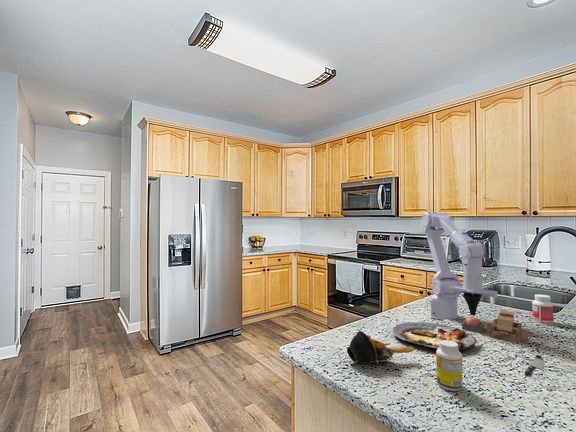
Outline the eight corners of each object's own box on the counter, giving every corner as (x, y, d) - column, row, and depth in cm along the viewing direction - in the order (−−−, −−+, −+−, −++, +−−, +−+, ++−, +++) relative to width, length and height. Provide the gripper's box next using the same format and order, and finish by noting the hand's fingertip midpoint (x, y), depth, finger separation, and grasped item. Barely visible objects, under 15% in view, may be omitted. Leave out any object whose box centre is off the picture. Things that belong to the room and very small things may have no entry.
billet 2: (497, 336, 104) (497, 318, 104) (498, 333, 107) (498, 315, 107) (511, 339, 101) (511, 320, 101) (512, 335, 104) (512, 317, 104)
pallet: (482, 338, 105) (482, 328, 105) (488, 325, 117) (488, 317, 117) (527, 347, 97) (527, 337, 97) (528, 332, 110) (528, 323, 110)
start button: (464, 327, 111) (464, 319, 111) (467, 324, 114) (467, 316, 114) (479, 330, 108) (479, 321, 108) (481, 326, 112) (481, 318, 112)
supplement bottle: (440, 377, 79) (439, 337, 79) (464, 385, 75) (464, 342, 75) (433, 386, 75) (433, 343, 75) (459, 395, 71) (459, 349, 71)
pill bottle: (556, 325, 117) (555, 296, 117) (550, 328, 114) (549, 298, 114) (536, 321, 123) (535, 293, 123) (529, 324, 119) (529, 295, 119)
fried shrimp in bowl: (338, 339, 92) (387, 314, 97) (355, 378, 89) (405, 349, 94) (348, 339, 83) (401, 311, 89) (368, 381, 80) (422, 350, 86)
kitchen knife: (550, 358, 91) (537, 354, 93) (551, 354, 91) (537, 350, 93) (538, 381, 78) (523, 376, 80) (538, 376, 78) (523, 371, 80)
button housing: (462, 331, 111) (461, 323, 111) (465, 327, 116) (465, 319, 116) (481, 335, 107) (481, 327, 107) (484, 330, 112) (484, 322, 112)
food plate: (483, 338, 104) (483, 328, 104) (465, 362, 87) (464, 350, 87) (409, 323, 121) (408, 314, 122) (381, 341, 104) (381, 331, 104)
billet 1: (499, 329, 110) (499, 312, 110) (500, 326, 113) (500, 310, 113) (513, 332, 108) (513, 314, 108) (514, 329, 111) (514, 312, 111)
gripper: (447, 275, 113) (448, 313, 113) (495, 280, 104) (496, 321, 104) (451, 273, 119) (452, 309, 118) (497, 277, 109) (498, 316, 109)
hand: (473, 314), depth 111 cm, fingers closed
